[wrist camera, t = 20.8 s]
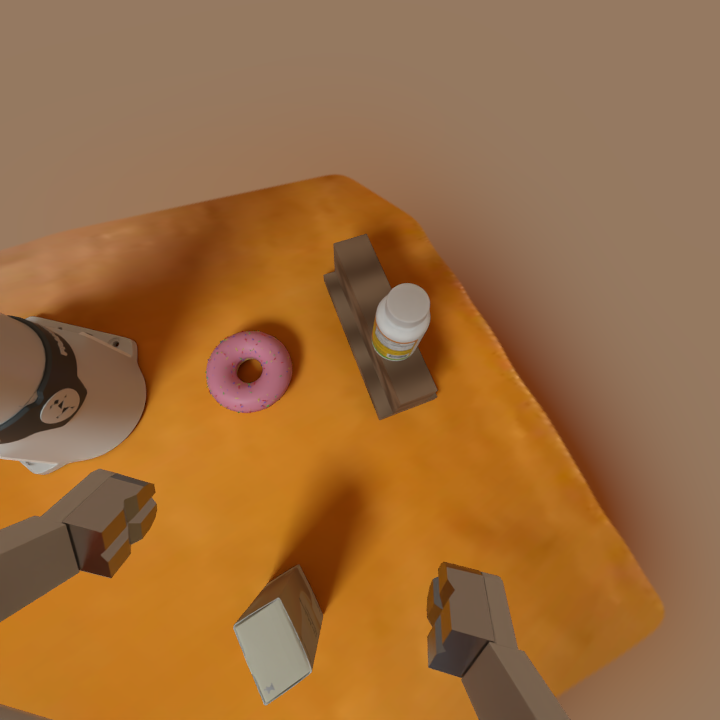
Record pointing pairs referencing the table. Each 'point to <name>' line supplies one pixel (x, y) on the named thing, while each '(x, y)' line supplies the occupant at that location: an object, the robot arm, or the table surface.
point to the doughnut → (254, 393)
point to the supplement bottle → (401, 322)
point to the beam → (357, 315)
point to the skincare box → (280, 634)
